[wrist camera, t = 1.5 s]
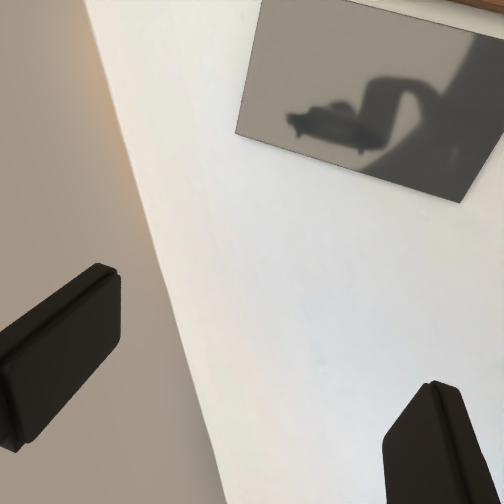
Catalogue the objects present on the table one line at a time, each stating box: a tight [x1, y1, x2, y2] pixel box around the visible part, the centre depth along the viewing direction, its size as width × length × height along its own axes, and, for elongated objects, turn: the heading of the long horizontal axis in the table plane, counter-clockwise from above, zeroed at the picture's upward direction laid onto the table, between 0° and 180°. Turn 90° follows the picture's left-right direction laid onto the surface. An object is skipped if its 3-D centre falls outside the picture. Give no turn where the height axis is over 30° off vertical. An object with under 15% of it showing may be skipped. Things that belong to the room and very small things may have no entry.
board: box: [235, 0, 504, 203], centre depth 26 cm, size 20×11×1 cm, turn 77°
